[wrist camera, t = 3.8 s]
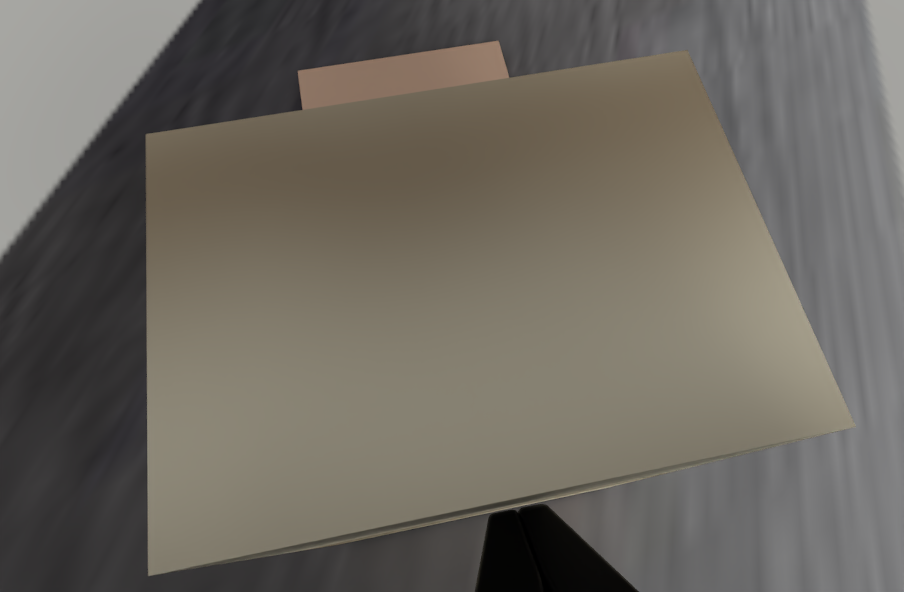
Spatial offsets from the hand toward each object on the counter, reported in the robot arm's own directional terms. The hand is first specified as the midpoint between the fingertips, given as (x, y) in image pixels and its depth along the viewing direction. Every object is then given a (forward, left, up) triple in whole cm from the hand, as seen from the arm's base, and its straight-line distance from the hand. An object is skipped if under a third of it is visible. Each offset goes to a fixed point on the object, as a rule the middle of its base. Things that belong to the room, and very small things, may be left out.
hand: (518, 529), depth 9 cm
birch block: (+3, 0, -7) cm, 7 cm away
